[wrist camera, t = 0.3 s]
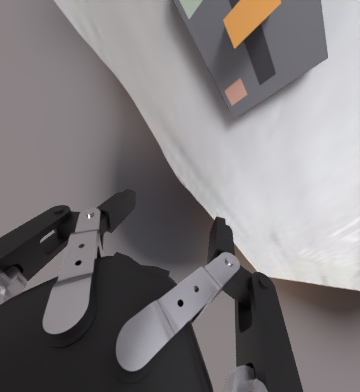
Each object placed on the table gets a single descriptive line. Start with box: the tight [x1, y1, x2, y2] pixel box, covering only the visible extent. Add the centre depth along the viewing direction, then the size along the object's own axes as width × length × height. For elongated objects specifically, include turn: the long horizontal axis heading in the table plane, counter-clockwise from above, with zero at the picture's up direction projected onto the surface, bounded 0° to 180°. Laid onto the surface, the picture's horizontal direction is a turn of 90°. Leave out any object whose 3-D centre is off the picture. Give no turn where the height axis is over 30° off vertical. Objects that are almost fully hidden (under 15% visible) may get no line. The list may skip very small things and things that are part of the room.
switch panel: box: [173, 0, 328, 119], centre depth 20 cm, size 22×14×4 cm, turn 42°
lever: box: [223, 0, 281, 49], centre depth 17 cm, size 3×5×6 cm, turn 132°
